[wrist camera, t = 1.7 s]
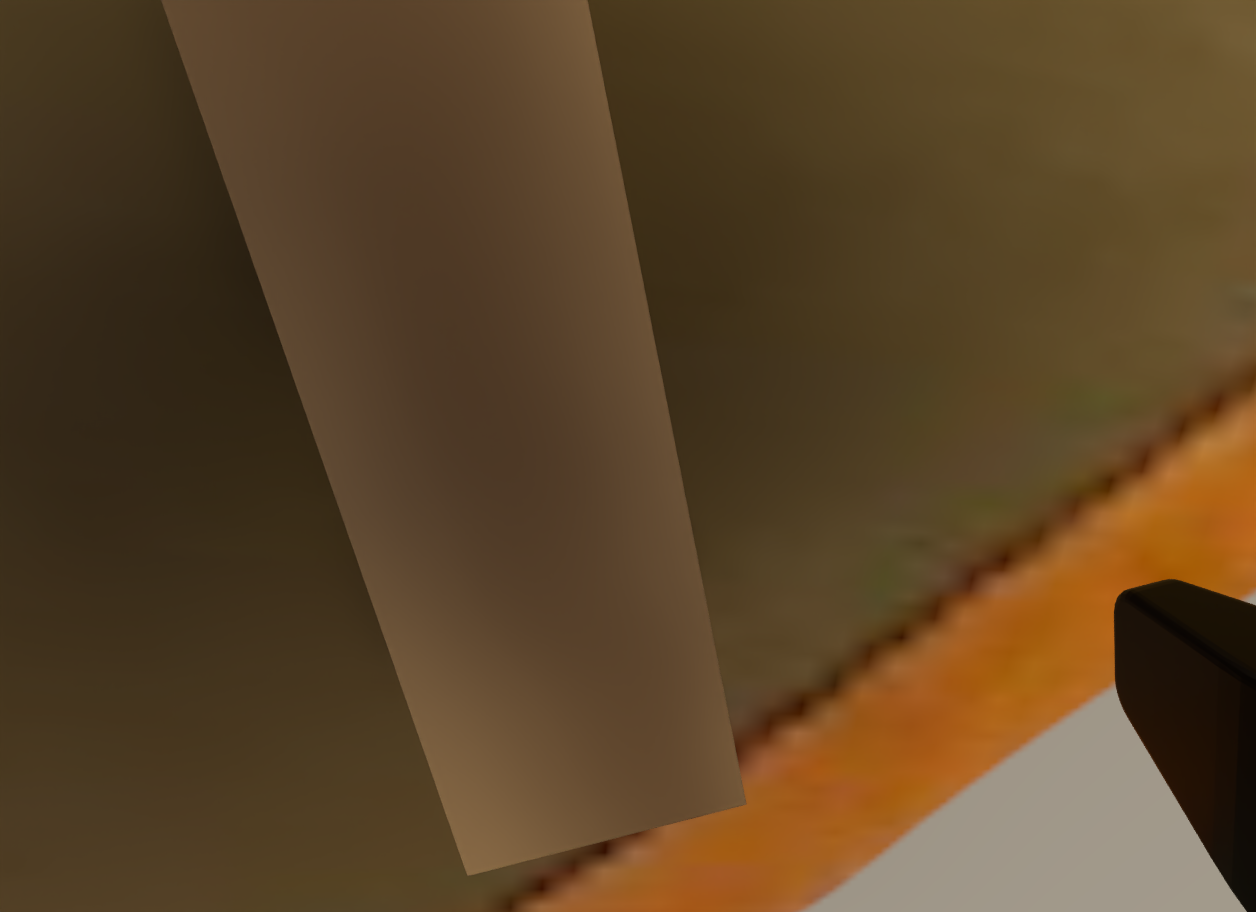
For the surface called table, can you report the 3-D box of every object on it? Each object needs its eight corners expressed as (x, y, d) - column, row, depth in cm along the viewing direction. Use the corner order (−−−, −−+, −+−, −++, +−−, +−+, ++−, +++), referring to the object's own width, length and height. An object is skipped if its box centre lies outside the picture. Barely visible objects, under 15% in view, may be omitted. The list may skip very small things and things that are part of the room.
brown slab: (462, 637, 21) (467, 876, 16) (244, -58, 16) (143, -52, 11) (671, 585, 21) (746, 804, 16) (522, -118, 16) (559, -143, 11)
